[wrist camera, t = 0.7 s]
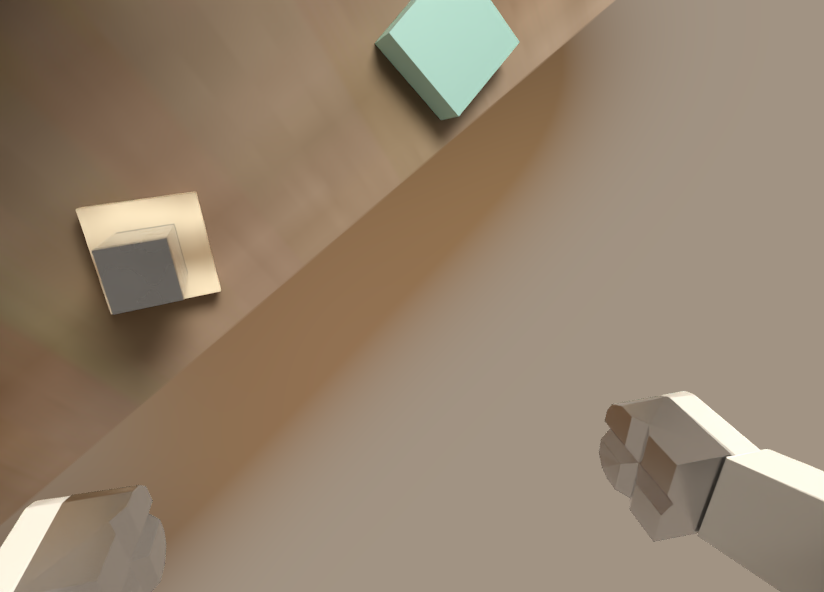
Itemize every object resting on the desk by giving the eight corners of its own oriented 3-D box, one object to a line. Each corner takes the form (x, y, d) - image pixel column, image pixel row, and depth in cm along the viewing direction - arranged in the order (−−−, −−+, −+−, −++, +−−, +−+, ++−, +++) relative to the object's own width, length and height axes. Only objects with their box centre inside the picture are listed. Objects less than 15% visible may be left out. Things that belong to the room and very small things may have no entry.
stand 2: (374, 43, 46) (389, 32, 42) (437, -32, 47) (457, -49, 43) (440, 120, 50) (458, 116, 47) (497, 51, 51) (519, 42, 48)
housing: (116, 232, 39) (91, 250, 30) (174, 223, 40) (166, 238, 32) (132, 282, 40) (112, 314, 31) (187, 272, 42) (183, 299, 33)
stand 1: (82, 206, 40) (75, 209, 37) (196, 191, 43) (196, 192, 41) (115, 306, 42) (110, 314, 40) (220, 285, 46) (221, 291, 43)
